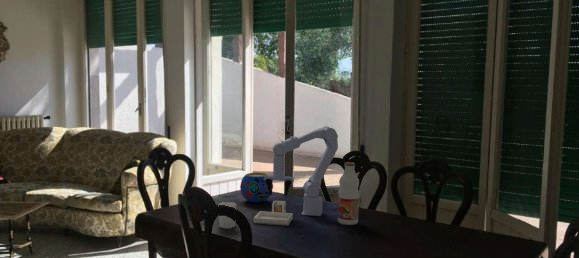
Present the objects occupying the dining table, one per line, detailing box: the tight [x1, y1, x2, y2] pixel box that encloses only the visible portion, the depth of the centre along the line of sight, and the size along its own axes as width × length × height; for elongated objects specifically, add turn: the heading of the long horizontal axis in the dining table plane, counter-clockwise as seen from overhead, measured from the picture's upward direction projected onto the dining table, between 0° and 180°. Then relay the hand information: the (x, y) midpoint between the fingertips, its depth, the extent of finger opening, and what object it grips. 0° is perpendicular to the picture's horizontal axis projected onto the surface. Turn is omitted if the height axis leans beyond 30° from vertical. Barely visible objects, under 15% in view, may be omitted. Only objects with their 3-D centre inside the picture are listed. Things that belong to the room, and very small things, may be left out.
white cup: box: [218, 201, 237, 229], centre depth 205 cm, size 8×8×10 cm
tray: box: [253, 210, 294, 227], centre depth 216 cm, size 16×12×2 cm
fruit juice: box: [337, 161, 360, 226], centre depth 215 cm, size 9×9×28 cm
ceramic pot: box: [239, 172, 274, 203], centre depth 252 cm, size 18×18×15 cm
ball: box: [276, 207, 282, 213], centre depth 228 cm, size 3×3×3 cm
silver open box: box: [271, 200, 287, 213], centre depth 228 cm, size 6×6×6 cm
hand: (278, 195), depth 227 cm, fingers open, 7 cm apart
